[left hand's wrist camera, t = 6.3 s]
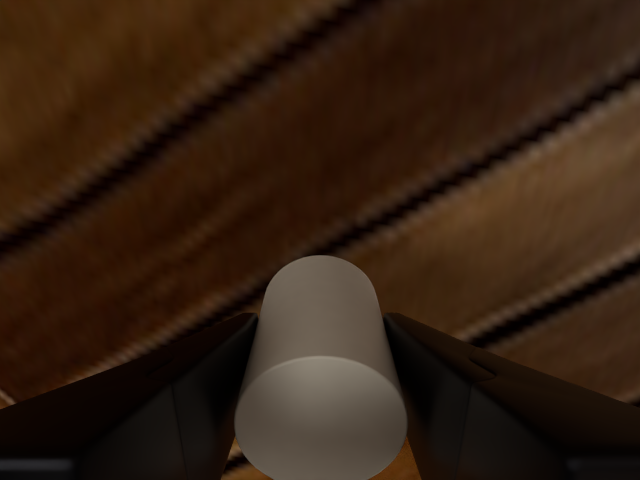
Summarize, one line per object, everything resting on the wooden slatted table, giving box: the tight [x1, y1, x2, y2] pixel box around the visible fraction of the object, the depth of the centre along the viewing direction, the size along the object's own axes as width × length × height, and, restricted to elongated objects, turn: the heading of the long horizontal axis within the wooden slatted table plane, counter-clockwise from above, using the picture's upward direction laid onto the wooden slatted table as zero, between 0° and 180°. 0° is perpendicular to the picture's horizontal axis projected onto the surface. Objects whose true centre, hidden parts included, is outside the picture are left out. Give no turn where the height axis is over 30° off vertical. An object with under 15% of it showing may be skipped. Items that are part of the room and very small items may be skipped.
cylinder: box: [234, 255, 408, 480], centre depth 11 cm, size 4×4×5 cm
